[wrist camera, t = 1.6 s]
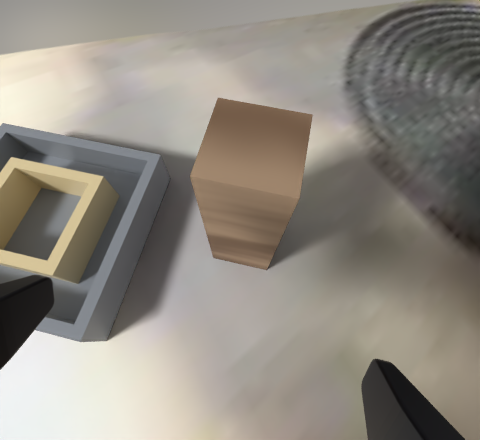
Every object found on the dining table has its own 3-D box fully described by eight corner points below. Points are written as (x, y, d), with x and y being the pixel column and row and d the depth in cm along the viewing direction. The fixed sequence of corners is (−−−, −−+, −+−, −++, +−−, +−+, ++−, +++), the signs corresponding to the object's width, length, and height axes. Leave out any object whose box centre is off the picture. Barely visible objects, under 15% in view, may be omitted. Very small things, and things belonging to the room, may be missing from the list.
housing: (106, 340, 19) (75, 342, 15) (-67, 295, 20) (-135, 286, 16) (170, 178, 24) (159, 150, 21) (32, 149, 26) (-3, 118, 22)
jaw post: (266, 270, 21) (299, 198, 10) (213, 257, 22) (189, 176, 11) (276, 220, 23) (312, 114, 12) (226, 210, 23) (218, 97, 12)
